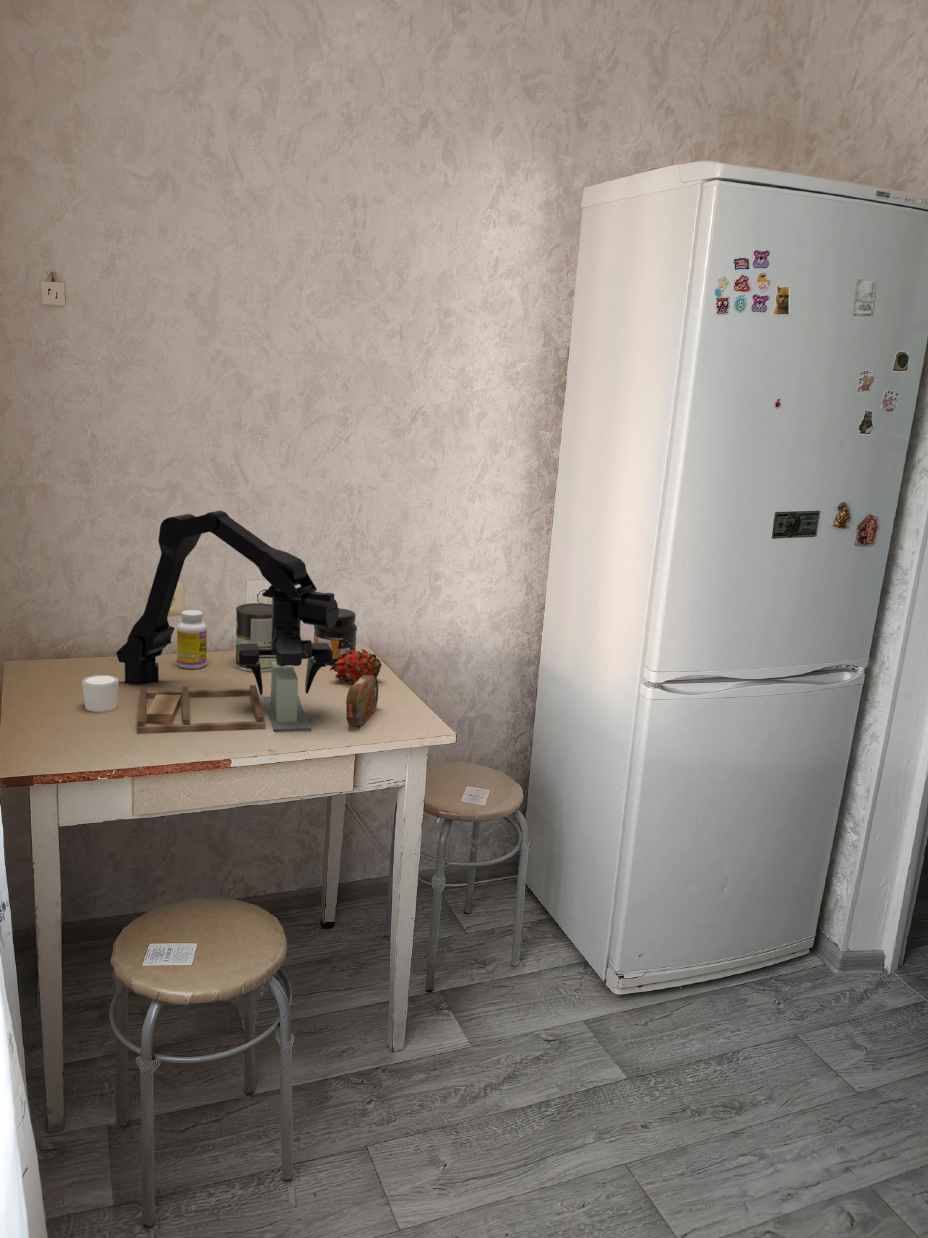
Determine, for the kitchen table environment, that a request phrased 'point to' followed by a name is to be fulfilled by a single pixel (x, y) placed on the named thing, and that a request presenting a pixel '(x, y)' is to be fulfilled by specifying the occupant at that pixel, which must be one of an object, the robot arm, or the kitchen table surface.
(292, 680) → the pale green block
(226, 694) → the rack
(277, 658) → the robot arm
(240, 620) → the coffee can
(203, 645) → the supplement bottle
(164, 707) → the offcut short
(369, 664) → the dragon fruit
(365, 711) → the tin
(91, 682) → the white cup
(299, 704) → the mat
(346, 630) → the supplement container
